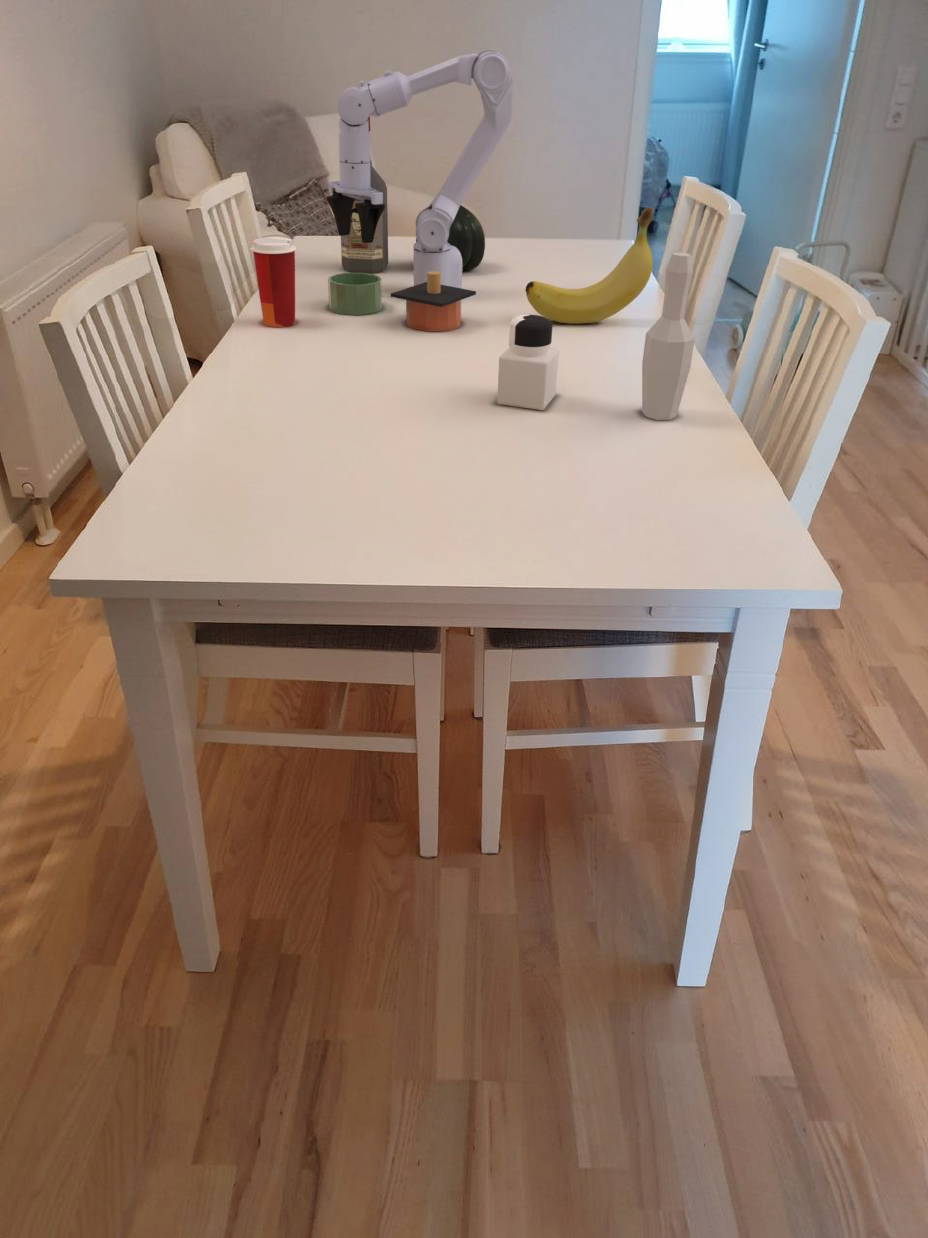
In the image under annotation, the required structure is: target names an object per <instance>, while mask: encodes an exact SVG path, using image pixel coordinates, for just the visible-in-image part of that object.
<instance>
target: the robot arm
mask: <svg viewBox="0 0 928 1238" xmlns="http://www.w3.org/2000/svg"><path fill="white" fill-rule="evenodd" d="M472 80H473V81H474V84H475V85H476V87H477V89H478V91H479V93H480V99H481V102H482V103H481V104H482V109H483V112H484V114H483V116H482V118H481V120H480V122H479V123H478V125H477V127H476V128H475V131H474V132H473V134H472V135H471V137H470V138H469V140H468V142H467V144H466V145H465V147H464V148H463V150H462V152H461V154H460V155H459V157H458V159H457V160H456V162H455V164H454V166H453V168H452V169H451V171H450V172H449V174H448V176H447V178H446V179H445V181H444V183H443V185H442V186H441V188H440V189H439V191H438V193H437V194H436V195H435V196H434V197H433V199H432V201H431V202H430V203H429V205H428V206H427V207H425V208H423V209H422V210H420V212H419V213H418V214H417V216H416V219H415V238H417V242H416V241H415V243H413V286H415V285H418V284H422V283H425V282H427V272H429V271H438V272H440V273H441V285H445V286H451V287H456V288H461V289H463V270H462V257H461V254H460V251H459V250H458V249H457V248H456V247H455V246H451V245H450V244H449V243H448V242H447V240H448V237H449V229H450V226H451V224H452V222H453V221H454V219H455V216H456V214H457V211H458V209H459V207H460V205H462V204H463V202H464V201H465V199H466V197H467V195H468V194H469V192H470V190H471V189H472V188H473V185H474V184H475V182H476V180H477V179H478V177H480V174H481V173H482V171H483V169H484V168H485V165H486V164H487V162H488V161H489V159H490V157H491V156H492V154H493V153H494V151H495V149H496V148H497V146H498V144H499V143H500V141H501V139H502V137H503V136H504V134H505V133H506V131H507V129H508V127H509V126H510V124H511V122H512V119H513V90H514V89H513V87H514V79H513V75H512V72H511V67H510V65H509V62H508V60H507V59H506V57H505V56H504V55H502V54H501V53H499V52H497V51H496V50H492V49H485V50H483V51H480V52H479V53H478V54H477V53H476V52H475V53H468V54H462V55H458V56H455V57H453V58H449V59H448V60H445V61H442V62H440V63H437V64H434V65H432V66H429V67H427V68H425V69H422V70H419V71H418V72H415V73H412V74H409V75H405V74H403V73H402V72H401V71H398V70H396V71H394V72H392V70H391V69H388V70H386V71H383V75H382V76H380V77H377V78H374V79H372V80H369V81H366V82H365V80H363V79H362V80H361V81H358V85H359V87H356V86H353V87H348V88H347V89H345V90H344V91H343V92H341V94H340V95H339V97H338V100H337V107H336V108H337V113H338V115H339V117H340V118H339V122H338V128H339V133H338V158H339V159H338V160H339V161H338V164H339V181H338V180H334V181H333V180H332V181H328V193H330V194H331V195H326V201H327V203H328V205H329V208H330V209H331V211H332V214H333V217H334V220H335V225H336V228H337V233H338V236H340V237H341V236H344V235H349V234H350V228H351V213H352V208H353V204H354V201H355V198H356V199H359V200H363V201H364V203H355V207H356V209H357V212H358V215H359V220H360V226H361V238H362V242H363V243H371V242H373V239H374V235H375V231H376V227H377V224H378V221H379V218H380V216H381V214H382V212H383V210H384V209H385V204H383V193H382V192H379V191H377V190H375V189H373V188H371V187H370V159H371V134H370V131H369V120H368V117H369V116H370V117H374V118H377V117H381V116H383V115H386V114H389V113H391V112H395V111H398V110H400V109H402V108H407V107H408V106H409V105H410V103H411V100H412V98H413V96H414V95H417V94H420V93H424V92H427V91H430V90H433V89H436V88H439V87H442V86H445V85H448V84H452V83H458V84H459V83H460V84H463V85H467V86H472Z"/></svg>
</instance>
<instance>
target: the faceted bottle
mask: <svg viewBox="0 0 928 1238" xmlns="http://www.w3.org/2000/svg"><path fill="white" fill-rule="evenodd" d="M693 274H694V267H693V259H692V255H691V254H690V253H689V252H680V251H679V252H673V253H671V256H670V257H669V260H668V263H667V264H666V266H665V277H664V296H663V302H662V303H663V304H662V309H661V310H662V311H661V316H660V317H659V318H658V320H656V322H655V323H654V324H653V325H652V326H651V327H650V328H649V330H647V332H645V339H644V346H643V353H642V354H643V355H642V362H641V363H642V364H641V372H642V373H641V377H642V378H641V400H642V401H641V412H642V414H643V415H644V416H645V417H646V418H649V419H652V420H655V421H670V420H672V419H674V418H676V417H677V416H678V412H679V408H680V405H681V402H682V399H683V395H684V391H685V388H686V385H687V380H688V377H689V374H690V370H691V365H692V359H693V353H694V347H695V339H696V338H695V336H694V335H693V332H692V331H691V329H690V326H689V325H688V323H687V321H686V320H685V315H686V310H687V309H686V308H687V302H688V295H689V290H690V287H691V282H692V279H693Z"/></svg>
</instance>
